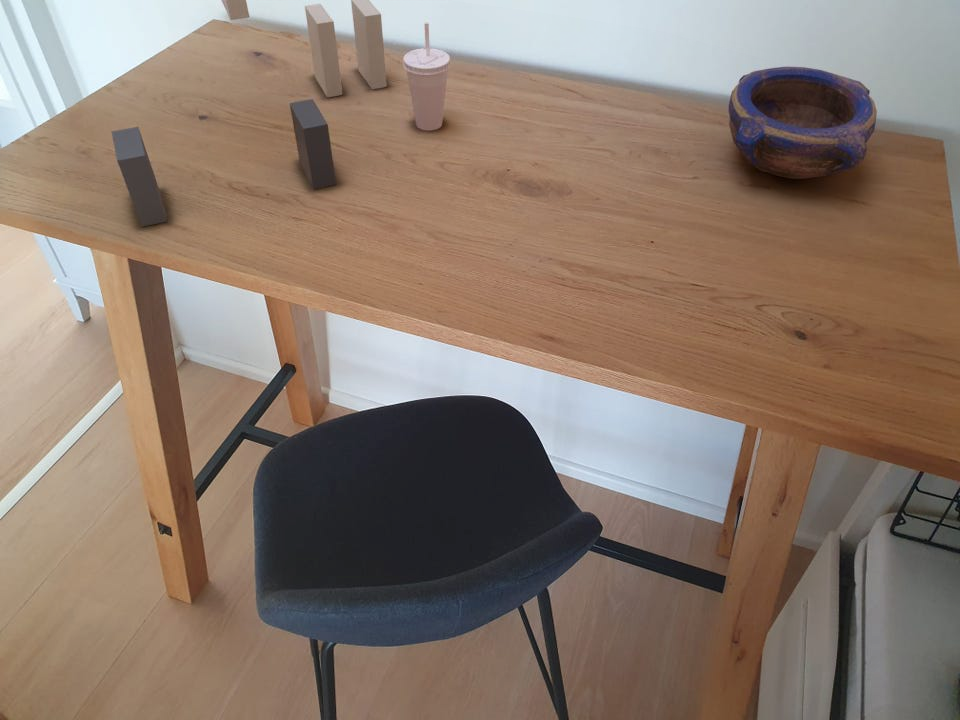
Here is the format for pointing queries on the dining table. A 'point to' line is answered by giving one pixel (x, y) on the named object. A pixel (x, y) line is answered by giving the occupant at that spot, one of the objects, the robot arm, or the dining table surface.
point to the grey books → (144, 185)
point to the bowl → (801, 121)
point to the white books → (366, 46)
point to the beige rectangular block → (236, 9)
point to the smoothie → (427, 83)
